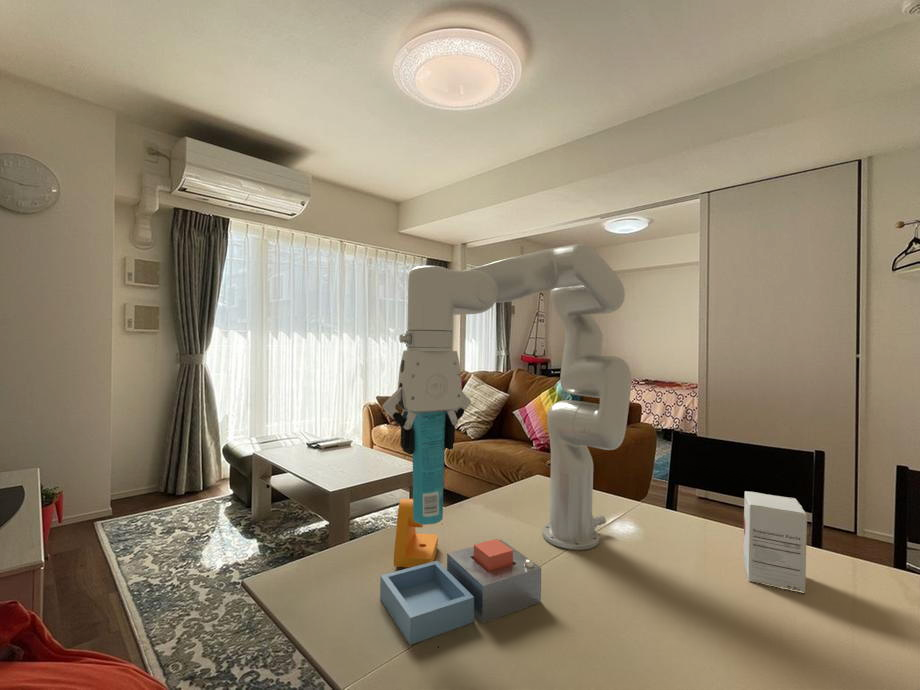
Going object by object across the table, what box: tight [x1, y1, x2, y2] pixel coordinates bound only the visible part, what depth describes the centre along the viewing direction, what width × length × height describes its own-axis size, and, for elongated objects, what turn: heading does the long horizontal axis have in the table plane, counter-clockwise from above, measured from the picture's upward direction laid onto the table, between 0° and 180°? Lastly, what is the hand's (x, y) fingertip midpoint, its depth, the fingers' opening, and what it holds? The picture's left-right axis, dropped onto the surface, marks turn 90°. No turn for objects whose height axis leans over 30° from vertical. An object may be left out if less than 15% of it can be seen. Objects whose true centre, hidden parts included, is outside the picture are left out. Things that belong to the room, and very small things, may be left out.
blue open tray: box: [379, 560, 475, 646], centre depth 71 cm, size 11×13×4 cm
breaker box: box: [446, 539, 542, 624], centre depth 76 cm, size 12×12×7 cm
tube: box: [412, 411, 446, 526], centre depth 71 cm, size 7×5×19 cm, turn 140°
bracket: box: [393, 498, 439, 568], centre depth 89 cm, size 11×7×12 cm, turn 175°
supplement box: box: [742, 490, 808, 593], centre depth 84 cm, size 9×9×15 cm
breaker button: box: [473, 538, 513, 572], centre depth 76 cm, size 5×5×7 cm
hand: (428, 449), depth 71 cm, fingers closed on tube, 6 cm apart
